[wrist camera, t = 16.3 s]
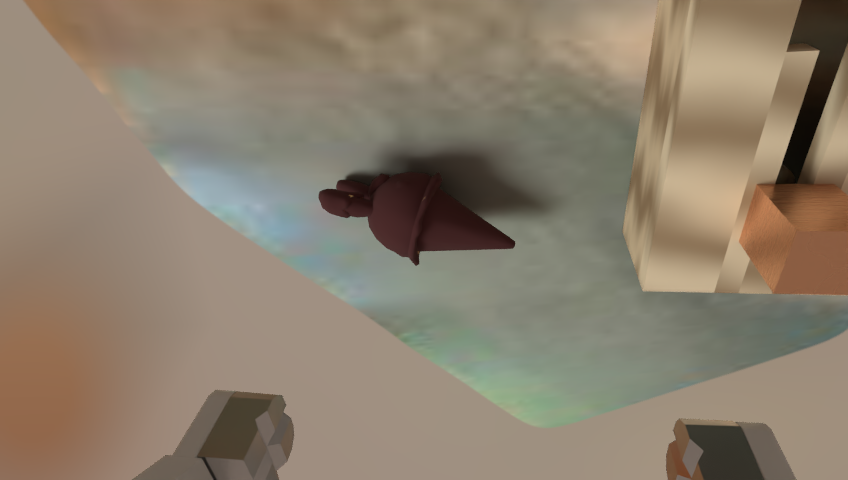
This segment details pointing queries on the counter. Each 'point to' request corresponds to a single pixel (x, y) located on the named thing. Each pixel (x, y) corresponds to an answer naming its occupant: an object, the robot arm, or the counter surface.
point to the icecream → (413, 215)
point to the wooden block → (798, 236)
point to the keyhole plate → (721, 138)
